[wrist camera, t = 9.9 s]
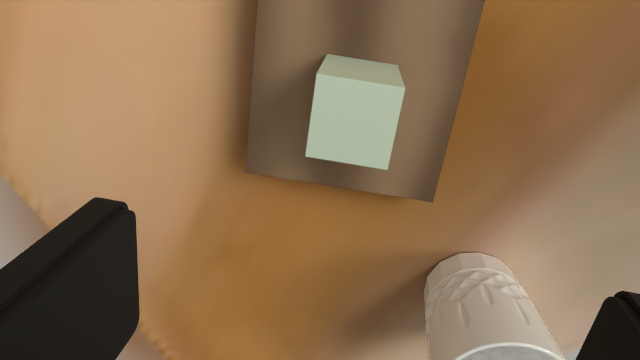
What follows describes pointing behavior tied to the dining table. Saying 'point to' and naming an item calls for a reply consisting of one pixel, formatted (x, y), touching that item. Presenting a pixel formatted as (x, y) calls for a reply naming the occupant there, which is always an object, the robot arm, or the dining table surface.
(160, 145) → the dining table surface
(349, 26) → the walnut base
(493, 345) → the white cup
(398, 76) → the sage block
